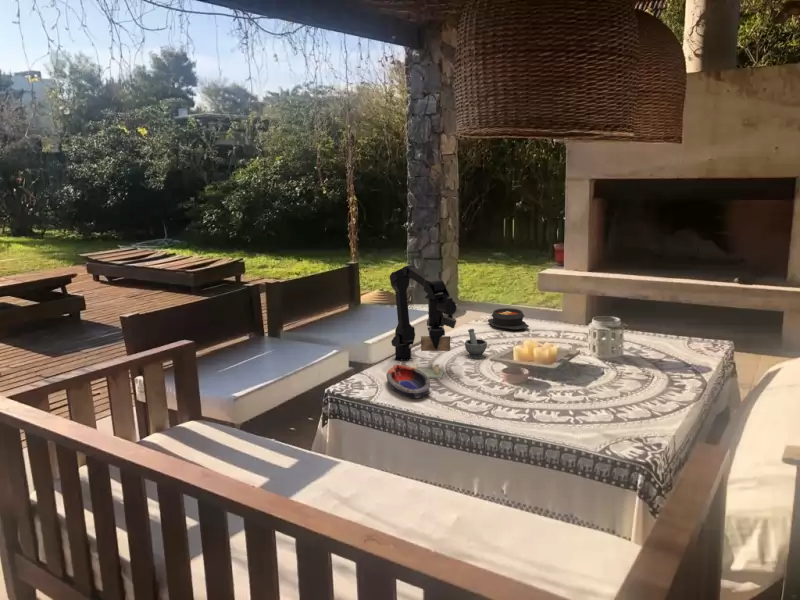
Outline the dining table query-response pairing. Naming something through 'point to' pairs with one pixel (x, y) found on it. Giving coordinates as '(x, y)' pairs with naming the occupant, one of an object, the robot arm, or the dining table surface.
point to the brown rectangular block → (428, 345)
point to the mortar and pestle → (475, 346)
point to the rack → (431, 371)
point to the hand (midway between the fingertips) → (435, 346)
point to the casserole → (508, 319)
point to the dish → (408, 381)
